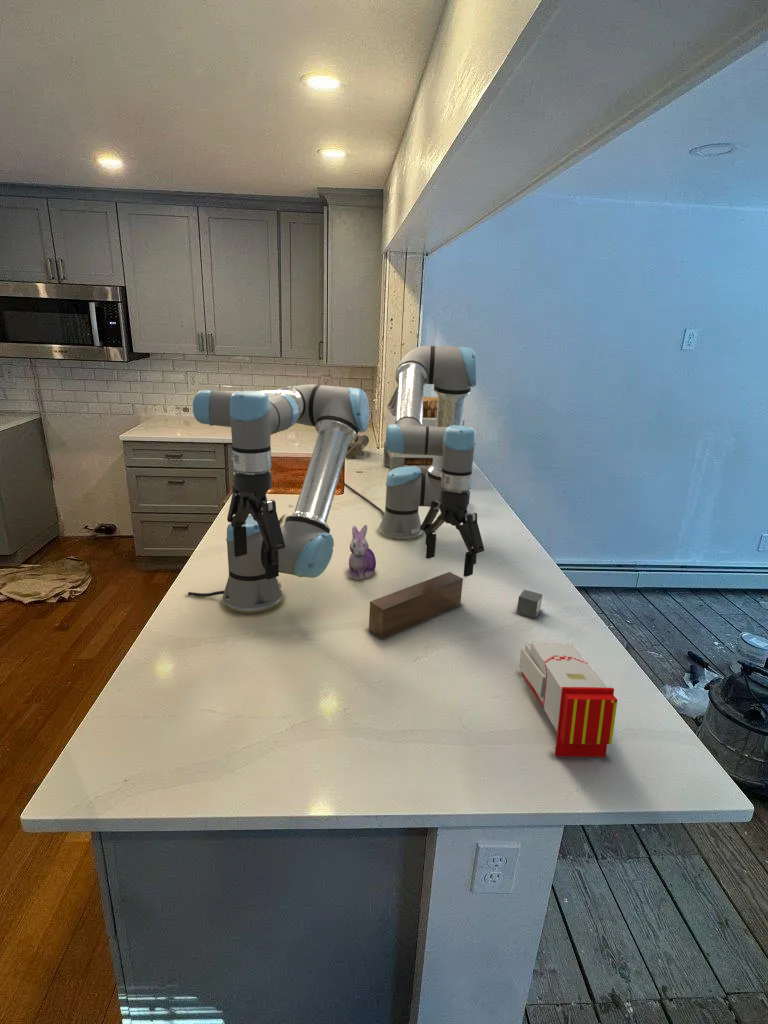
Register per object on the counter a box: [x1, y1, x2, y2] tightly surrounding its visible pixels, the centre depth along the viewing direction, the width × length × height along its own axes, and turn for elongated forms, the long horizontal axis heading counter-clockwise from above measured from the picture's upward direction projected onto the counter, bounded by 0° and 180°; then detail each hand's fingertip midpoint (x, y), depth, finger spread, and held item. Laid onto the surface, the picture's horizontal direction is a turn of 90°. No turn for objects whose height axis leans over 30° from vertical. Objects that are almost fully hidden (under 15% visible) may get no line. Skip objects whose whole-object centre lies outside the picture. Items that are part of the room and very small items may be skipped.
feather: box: [278, 514, 286, 525], centre depth 209 cm, size 2×28×2 cm
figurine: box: [347, 524, 377, 580], centre depth 166 cm, size 9×10×15 cm
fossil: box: [345, 434, 370, 459], centre depth 303 cm, size 22×10×15 cm
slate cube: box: [516, 588, 543, 619], centre depth 151 cm, size 5×5×5 cm
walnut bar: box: [368, 571, 464, 640], centre depth 145 cm, size 5×28×8 cm, turn 131°
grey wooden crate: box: [383, 385, 465, 472], centre depth 268 cm, size 34×33×41 cm
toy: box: [518, 642, 618, 758], centre depth 113 cm, size 12×13×30 cm
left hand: (255, 565), depth 121 cm, fingers open, 13 cm apart
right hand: (448, 566), depth 149 cm, fingers open, 13 cm apart
